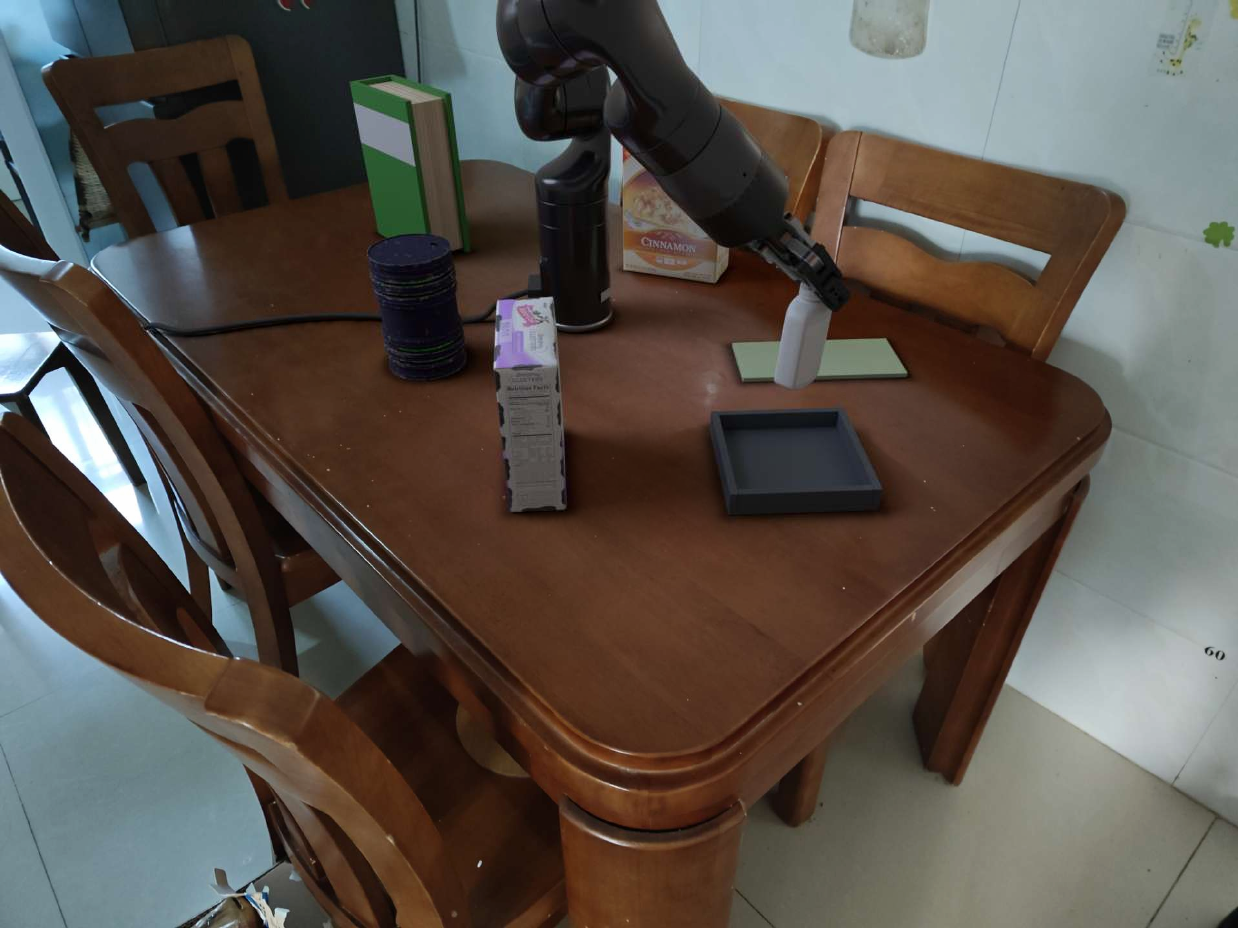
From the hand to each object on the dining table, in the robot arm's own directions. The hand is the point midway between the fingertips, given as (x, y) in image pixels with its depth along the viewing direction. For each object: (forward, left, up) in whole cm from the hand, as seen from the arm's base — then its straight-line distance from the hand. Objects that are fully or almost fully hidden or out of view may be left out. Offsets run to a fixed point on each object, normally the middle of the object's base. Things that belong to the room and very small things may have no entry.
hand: (827, 293), depth 75 cm
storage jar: (-43, +24, -19) cm, 53 cm away
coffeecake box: (-9, +51, -19) cm, 55 cm away
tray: (-2, -1, -19) cm, 19 cm away
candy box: (-28, 0, -19) cm, 34 cm away
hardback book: (-50, +65, -19) cm, 84 cm away
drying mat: (+6, +21, -19) cm, 29 cm away
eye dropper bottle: (-2, -1, -8) cm, 9 cm away
